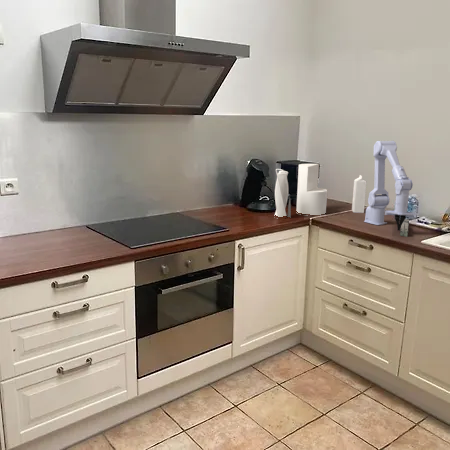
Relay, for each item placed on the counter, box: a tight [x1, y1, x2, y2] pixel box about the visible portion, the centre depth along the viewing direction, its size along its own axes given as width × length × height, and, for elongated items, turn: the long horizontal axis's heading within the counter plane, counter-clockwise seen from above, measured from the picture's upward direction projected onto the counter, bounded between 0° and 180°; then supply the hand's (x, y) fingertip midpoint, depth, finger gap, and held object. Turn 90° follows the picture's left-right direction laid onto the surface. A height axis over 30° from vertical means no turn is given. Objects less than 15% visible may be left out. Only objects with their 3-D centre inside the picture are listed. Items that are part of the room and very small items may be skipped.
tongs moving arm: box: [399, 222, 407, 237], centre depth 232 cm, size 21×3×2 cm, turn 159°
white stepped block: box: [296, 163, 328, 216], centre depth 269 cm, size 17×17×28 cm
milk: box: [351, 174, 367, 214], centre depth 273 cm, size 6×6×22 cm
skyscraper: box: [274, 168, 292, 218], centre depth 256 cm, size 8×8×28 cm
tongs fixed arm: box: [403, 219, 410, 237], centre depth 234 cm, size 24×4×3 cm, turn 159°
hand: (398, 230), depth 229 cm, fingers closed
